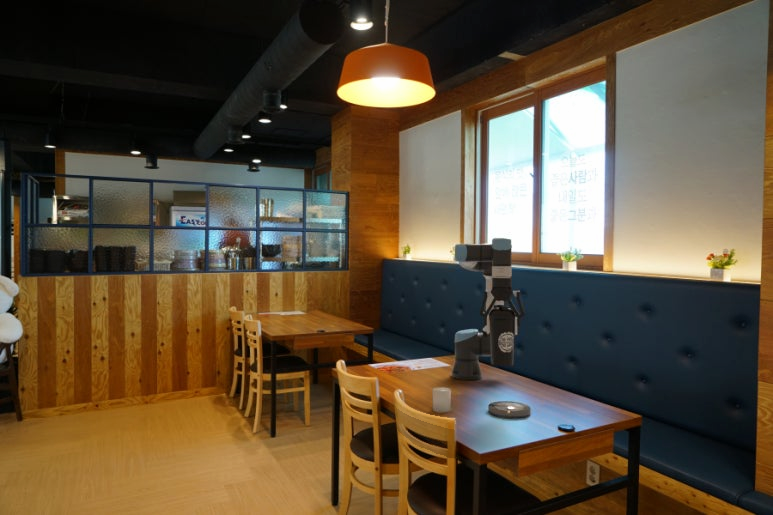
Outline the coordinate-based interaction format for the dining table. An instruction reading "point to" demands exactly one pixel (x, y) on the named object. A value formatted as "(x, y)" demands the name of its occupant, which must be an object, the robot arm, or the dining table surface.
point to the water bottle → (502, 335)
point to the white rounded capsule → (441, 399)
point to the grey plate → (509, 409)
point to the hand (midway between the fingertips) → (502, 333)
